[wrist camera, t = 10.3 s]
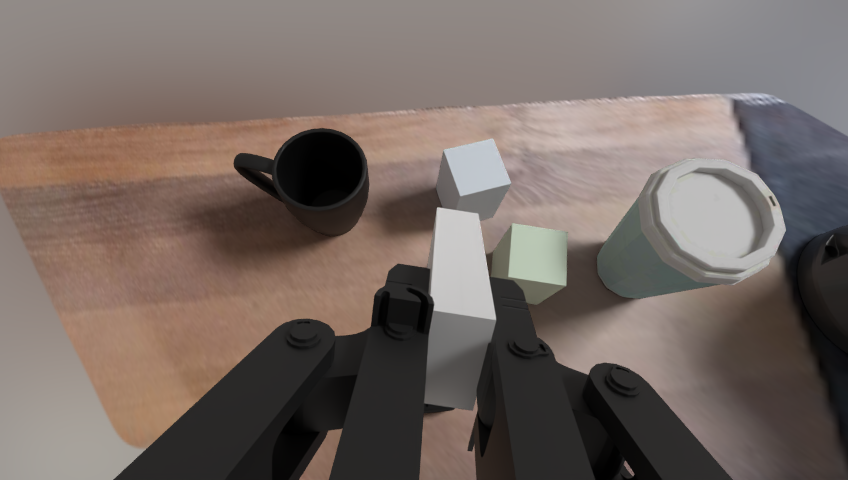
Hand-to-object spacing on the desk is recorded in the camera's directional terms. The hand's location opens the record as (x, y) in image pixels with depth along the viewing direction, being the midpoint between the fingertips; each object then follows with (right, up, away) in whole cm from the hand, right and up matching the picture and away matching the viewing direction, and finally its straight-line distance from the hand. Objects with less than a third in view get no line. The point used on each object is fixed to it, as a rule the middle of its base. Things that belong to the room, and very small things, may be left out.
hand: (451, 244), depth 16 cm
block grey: (+3, +4, +32) cm, 32 cm away
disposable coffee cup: (+20, -3, +31) cm, 37 cm away
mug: (-13, +3, +31) cm, 33 cm away
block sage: (+8, -4, +29) cm, 31 cm away
